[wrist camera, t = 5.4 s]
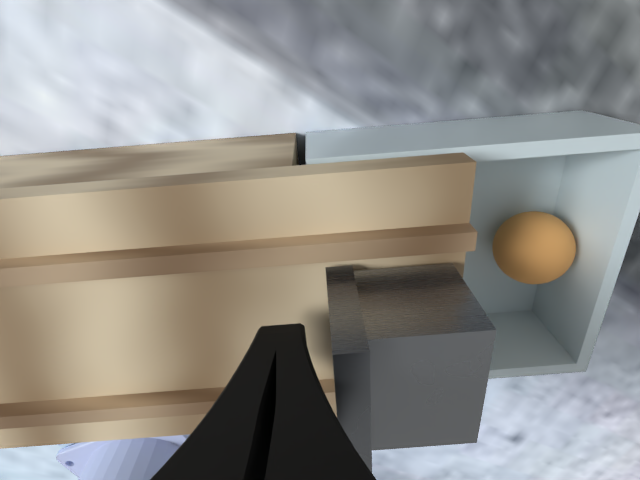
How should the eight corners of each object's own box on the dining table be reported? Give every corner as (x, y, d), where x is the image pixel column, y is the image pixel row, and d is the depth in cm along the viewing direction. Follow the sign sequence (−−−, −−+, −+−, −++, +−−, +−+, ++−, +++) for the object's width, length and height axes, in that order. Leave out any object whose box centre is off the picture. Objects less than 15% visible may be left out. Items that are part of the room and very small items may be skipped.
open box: (322, 328, 20) (326, 390, 16) (305, 132, 15) (305, 159, 12) (535, 312, 20) (585, 371, 16) (582, 110, 15) (666, 131, 12)
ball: (511, 294, 15) (467, 257, 17) (569, 302, 16) (519, 266, 18) (549, 223, 14) (496, 194, 16) (609, 236, 14) (549, 207, 17)
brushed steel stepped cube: (333, 374, 13) (341, 478, 10) (325, 267, 11) (332, 354, 8) (442, 366, 13) (484, 468, 10) (453, 257, 11) (510, 341, 8)
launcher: (65, 348, 20) (-28, 464, 14) (-29, 158, 15) (-217, 223, 10) (411, 321, 20) (452, 429, 14) (421, 123, 15) (485, 168, 10)
